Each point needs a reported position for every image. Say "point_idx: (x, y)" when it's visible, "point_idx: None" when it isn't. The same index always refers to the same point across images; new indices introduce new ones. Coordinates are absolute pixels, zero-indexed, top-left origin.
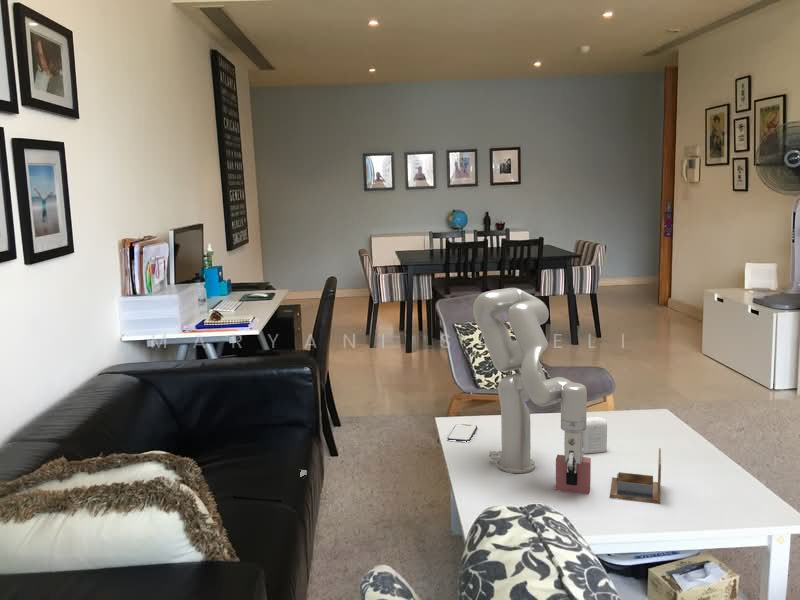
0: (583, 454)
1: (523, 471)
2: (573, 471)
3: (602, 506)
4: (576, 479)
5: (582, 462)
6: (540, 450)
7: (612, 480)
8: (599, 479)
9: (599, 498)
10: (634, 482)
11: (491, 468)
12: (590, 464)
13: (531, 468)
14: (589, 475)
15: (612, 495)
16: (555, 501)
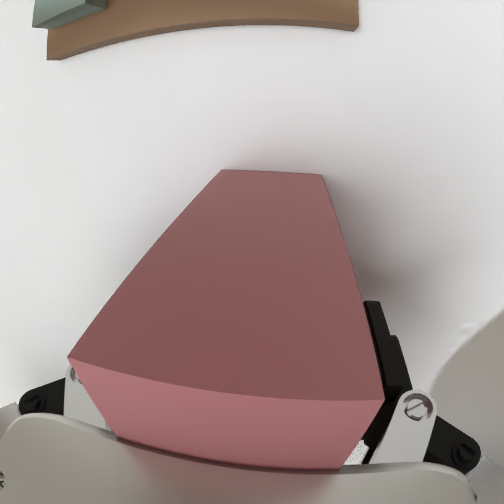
0: (85, 456)
1: None
2: (450, 427)
3: (487, 103)
4: (389, 338)
5: (344, 457)
6: (2, 355)
7: (86, 41)
8: (68, 132)
9: (382, 104)
10: None
11: None
12: (160, 286)
13: None
14: (340, 239)
15: (356, 9)
16: (429, 343)
